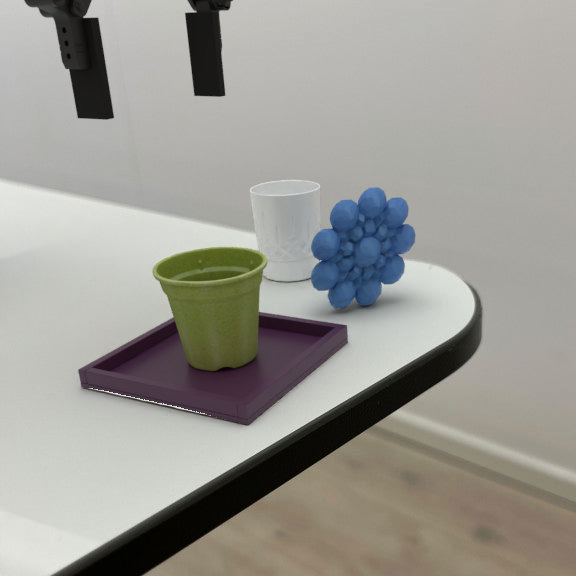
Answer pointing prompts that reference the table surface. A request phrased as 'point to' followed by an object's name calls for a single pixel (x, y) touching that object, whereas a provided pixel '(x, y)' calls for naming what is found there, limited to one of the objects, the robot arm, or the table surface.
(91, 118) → the robot arm
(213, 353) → the plant pot
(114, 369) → the tray
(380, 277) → the blue flower ornament
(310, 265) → the white cup
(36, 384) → the table surface
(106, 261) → the table surface
